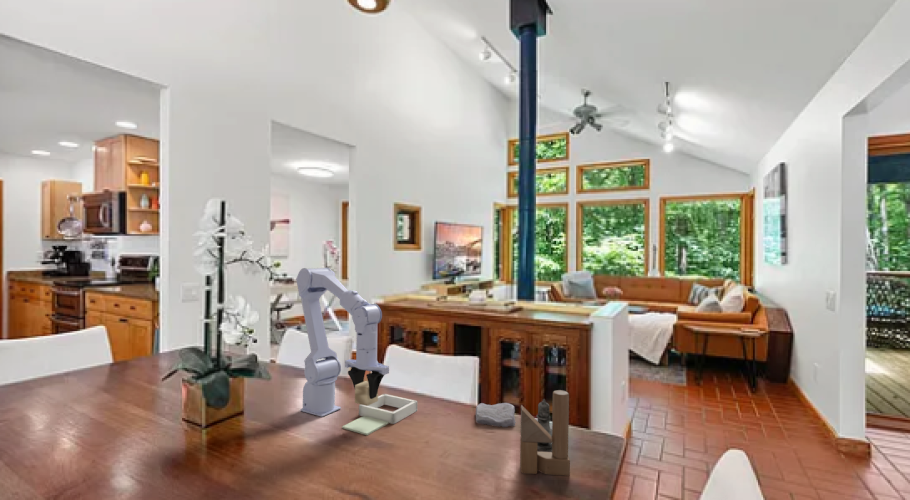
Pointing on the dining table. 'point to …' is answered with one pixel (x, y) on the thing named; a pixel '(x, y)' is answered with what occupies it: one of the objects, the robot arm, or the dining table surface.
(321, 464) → the dining table surface
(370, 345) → the robot arm
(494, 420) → the stone block
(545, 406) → the salt shaker
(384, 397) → the box
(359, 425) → the pad
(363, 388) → the wood block
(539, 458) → the wooden block
